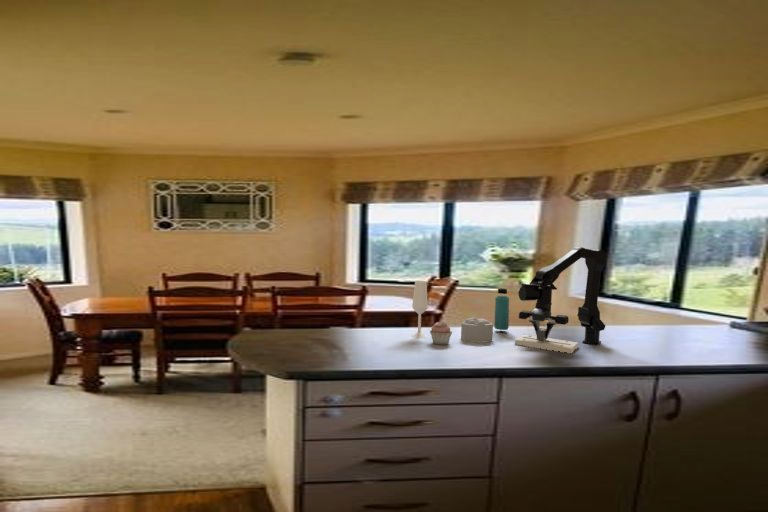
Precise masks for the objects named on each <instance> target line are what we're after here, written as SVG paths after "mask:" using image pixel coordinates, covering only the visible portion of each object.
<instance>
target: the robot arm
mask: <svg viewBox="0 0 768 512" xmlns="http://www.w3.org/2000/svg"><path fill="white" fill-rule="evenodd" d="M581 258H582V259H585V260H584V262H585V265H586V268H587V277H586V286H585V295H584V302H583V304H582V306H578V307H577V315H576V316H577V318H578V321H579V322H580V325H581V328H584V339H583V340H582V342H581V343H582V344H590V345H595V346H599V345H600V344H601V343H602V340H600V335H601V334H600V332H601V331H605V328H606V324H605V323H604V322H603V321H602V320H601V312H600V309H599V307H598V302H599V301H598V299H599V291H600V282H601V273H602V270H603V269H604V267H605V266H606V264H607V259H608V253H607V252H606V251H605V250H604V249H600V248H599V249H597V248H585V247H582V246H575V247H573V248H572V249H571V250H570V251H569V252H567V253H566V254H565V255H564V256H562V257H560V258H559V259H557V260H556V261H555V262H553V263H552V264H551V265H547V266H544V267H542V268H540V269H538V270H537V271H535V276H533V278H532V280H531V281H530V282H529V283H527V284H526V283H522V284H521V286H520V288H519V291H518V298H519V300H520V301H522V302H528V301H530V302H531V301H536V303H535V307H534V308H533V310H521V311H519V313H518V319H519V320H527V319H528V318H529V320H528V323H531V325H532V327H533V329H534V333H535V336H537V330H538V329H540V328H541V327H540V323H541V322H545V321H548V322H546V328H545V329H546V339H547V338H549V335H550V333H551V331H552V329H553V328H554V326H555V325H568V324H569V316H568V315H563V314H557V315H556V316H555V315H552V305H553V303H552V300H553V299H552V295H553V290H557V289H558V287H557V286H555V285H554V283H555V282H556V281H557V280H558V278H559V276H560V275H561V274H562V273H563V272H564V271H565V270H567V269H568V268H569V267H570V266H572V265H573V264H575V263H576V262H577V261H578V260H580V259H581Z"/></svg>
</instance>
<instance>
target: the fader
mask: <svg viewBox="0 0 768 512" xmlns="http://www.w3.org/2000/svg"><path fill="white" fill-rule="evenodd" d="M546 329H547V328H542V327H540V329H538V330H537V335H536V336H537V340H541V341H545V340H546ZM548 338H549V337H548ZM548 338H547V339H548Z"/></svg>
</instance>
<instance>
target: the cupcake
mask: <svg viewBox="0 0 768 512" xmlns="http://www.w3.org/2000/svg"><path fill="white" fill-rule="evenodd" d="M429 333H430V335H431V339H432V343H433V344H434V345H438V346H445V345H448V344H449V343H450V340H451V336H452V335H453V331H451V327H450V326H449V325H448V324H447V322H446V321H445V320H443V319H439V321H437V322H435V323H434V324H433V326H431V329H430V330H429Z"/></svg>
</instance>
